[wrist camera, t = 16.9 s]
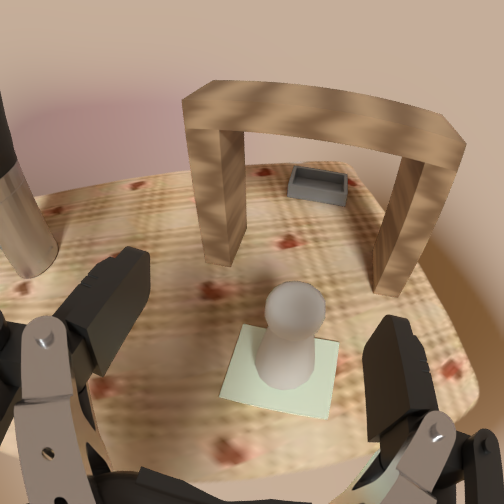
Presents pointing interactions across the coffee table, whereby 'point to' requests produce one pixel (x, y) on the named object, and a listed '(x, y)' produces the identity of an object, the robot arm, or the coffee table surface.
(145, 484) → the robot arm
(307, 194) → the trap tray
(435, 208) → the tunnel gate
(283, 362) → the salt shaker
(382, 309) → the coffee table surface
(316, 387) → the mat
